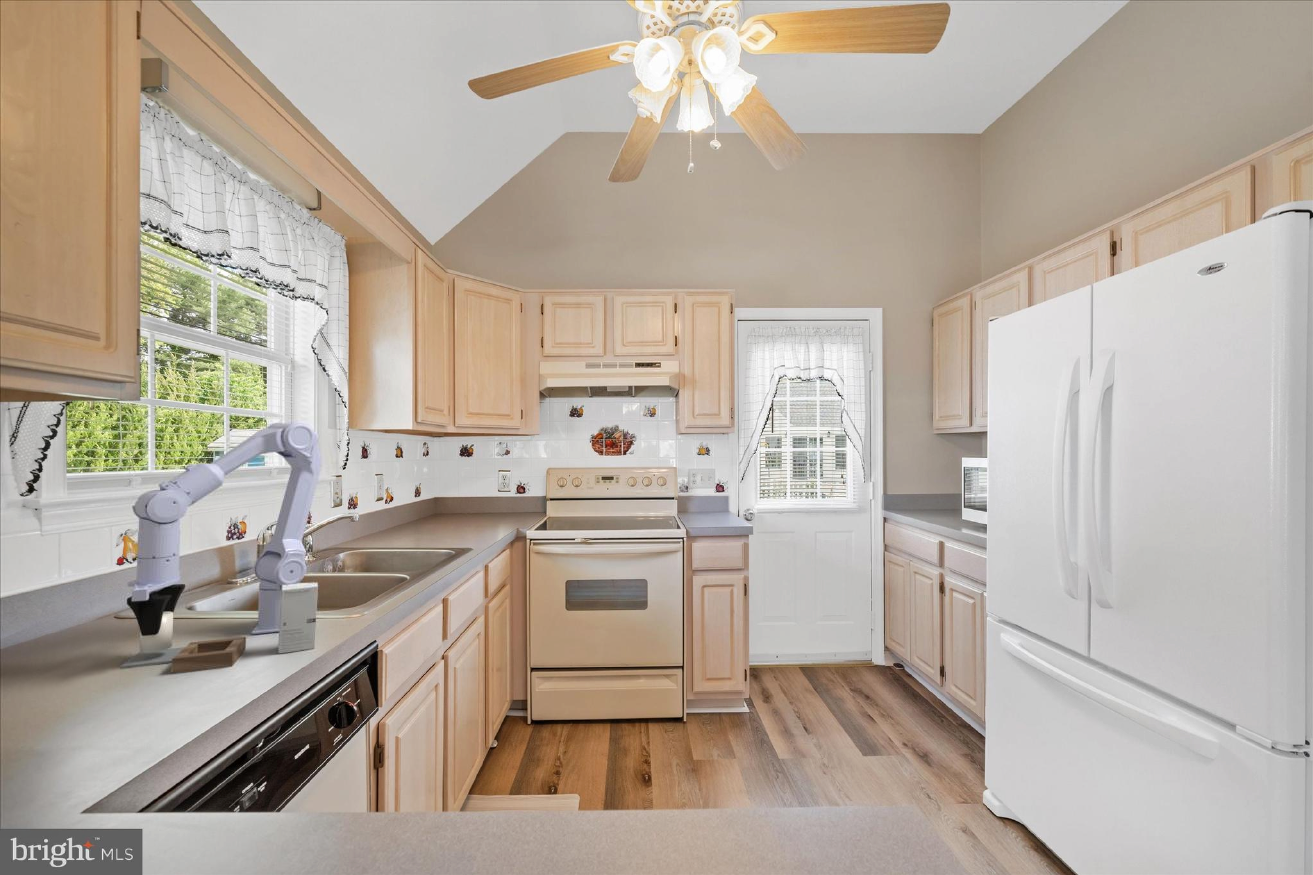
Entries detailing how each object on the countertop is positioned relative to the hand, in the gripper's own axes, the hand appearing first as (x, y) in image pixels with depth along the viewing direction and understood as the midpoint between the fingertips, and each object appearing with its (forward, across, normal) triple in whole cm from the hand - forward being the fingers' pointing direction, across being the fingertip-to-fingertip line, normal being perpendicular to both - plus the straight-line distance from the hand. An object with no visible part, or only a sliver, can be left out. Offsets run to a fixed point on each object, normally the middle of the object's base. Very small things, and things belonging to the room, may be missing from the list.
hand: (156, 630), depth 99 cm
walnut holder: (+5, +5, +10) cm, 12 cm away
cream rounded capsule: (+3, 0, 0) cm, 3 cm away
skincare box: (+5, +3, +22) cm, 23 cm away
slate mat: (+5, 0, 0) cm, 5 cm away
